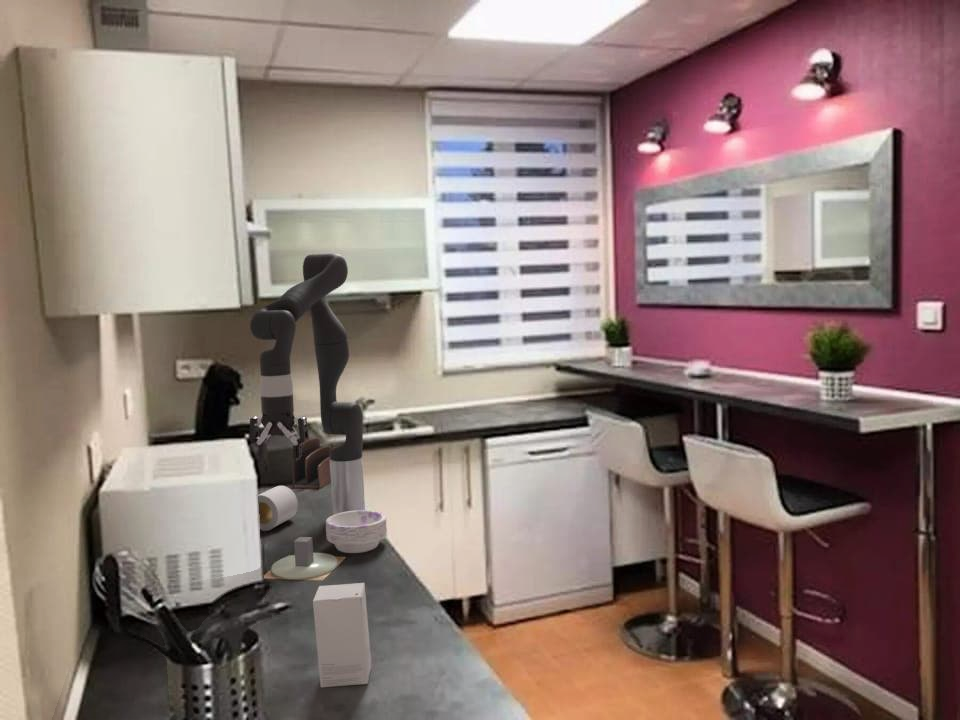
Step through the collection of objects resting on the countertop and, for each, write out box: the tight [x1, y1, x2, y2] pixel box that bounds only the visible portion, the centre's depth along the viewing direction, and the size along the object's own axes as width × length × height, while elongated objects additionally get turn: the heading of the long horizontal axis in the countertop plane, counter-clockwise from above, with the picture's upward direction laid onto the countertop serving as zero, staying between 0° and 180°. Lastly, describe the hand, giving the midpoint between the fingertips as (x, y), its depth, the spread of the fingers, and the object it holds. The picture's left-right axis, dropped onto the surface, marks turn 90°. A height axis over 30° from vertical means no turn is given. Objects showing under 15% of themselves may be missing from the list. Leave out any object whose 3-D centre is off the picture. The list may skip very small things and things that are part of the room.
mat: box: [263, 554, 347, 582], centre depth 186 cm, size 15×15×1 cm
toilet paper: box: [258, 485, 299, 532], centre depth 221 cm, size 10×10×10 cm
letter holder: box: [291, 437, 332, 490], centre depth 268 cm, size 10×20×14 cm, turn 166°
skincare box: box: [312, 582, 372, 688], centre depth 134 cm, size 8×7×16 cm
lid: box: [271, 536, 338, 580], centre depth 186 cm, size 15×15×7 cm
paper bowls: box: [325, 509, 388, 554], centre depth 199 cm, size 15×15×8 cm
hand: (280, 459), depth 191 cm, fingers open, 8 cm apart
